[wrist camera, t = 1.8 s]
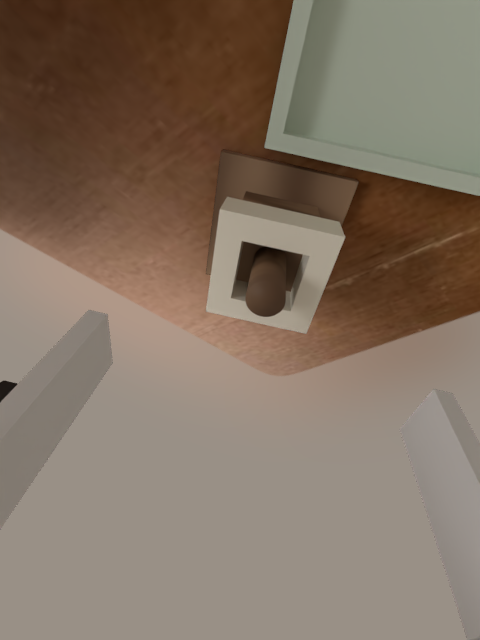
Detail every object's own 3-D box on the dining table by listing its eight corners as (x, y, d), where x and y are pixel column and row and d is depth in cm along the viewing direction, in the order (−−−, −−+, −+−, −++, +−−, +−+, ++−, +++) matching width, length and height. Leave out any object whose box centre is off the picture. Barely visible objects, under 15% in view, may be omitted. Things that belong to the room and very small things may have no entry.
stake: (208, 269, 29) (172, 347, 20) (223, 149, 23) (181, 185, 14) (313, 292, 29) (323, 380, 20) (356, 179, 23) (398, 233, 14)
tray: (266, 143, 22) (264, 147, 20) (356, -306, 12) (369, -379, 10) (484, 191, 22) (503, 201, 20) (744, -218, 12) (826, -274, 10)
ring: (213, 292, 23) (205, 311, 21) (227, 196, 19) (219, 209, 17) (304, 312, 23) (306, 333, 21) (339, 221, 19) (345, 237, 17)
